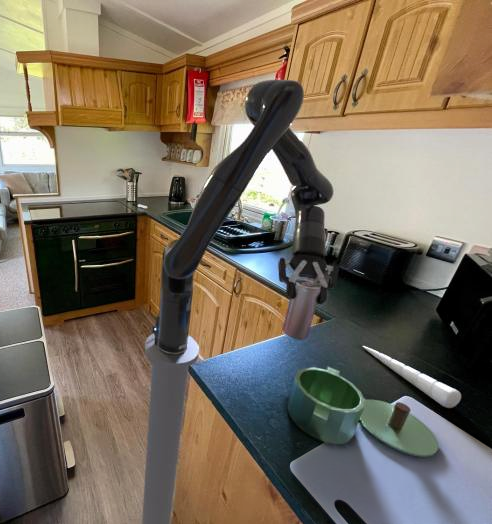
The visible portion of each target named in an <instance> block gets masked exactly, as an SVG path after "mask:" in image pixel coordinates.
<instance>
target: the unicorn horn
mask: <svg viewBox="0 0 492 524" xmlns="http://www.w3.org/2000/svg"><path fill="white" fill-rule="evenodd" d="M362 347H363V349H364V350H366V351H367V352H368V353H369V354H371V356H374V358H376V359H377V360H378V361H380V362H381V363H382V364H384V365H386V367H388V368H390V369H391V370H392V371H393V372H395V374H397V375H399V376H400V377H402V378H403V379H404V380H406V381H407V382H409V383H410V384H411V385H413V386H414V387H415V388H417V389H419V390H420V391H421V392H423V393H424V394H425V395H427V396H428V397H429V398H431V399H432V400H434V401H435V402H436V403H438V404H439V405H440V406H442V407H444V408H445V409H452V408H454V407H456V406H457V405H458V404H459V403H460V402H461V399H462V394H461V392H460V391H459V390H457V389H456V388H453V387H451V386H449V385H447V384H445V383H443V382H441V381H438V380H437V379H434V378H433V377H430V376H429V375H427V374H425V373H421V371H419V370H416V369H414V368H412V367H410V366H409V365H406V364H404V363H403V362H400V361H398V360H396V359H394V358H392V357H391V356H388V355H386V354H384V353H381V352H379V351H377V350H375V349H372V348H371V347H368V346H365V345H362Z"/></svg>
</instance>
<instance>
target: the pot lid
mask: <svg viewBox="0 0 492 524" xmlns="http://www.w3.org/2000/svg"><path fill="white" fill-rule="evenodd" d="M410 412H411V408H410V407H409V405H407V404H405V403H403V402H399V401H398V402H395V404H392V403H389V402H386V401H382V400H378V399H365V406H364V410H363V412H362V415H361V417H360V420H359V422H360V423H361V424H362V426H363V427H364V428H365V429H366V430H367V431H368V432H369V433H370V434H372V435H373V436H374V437H375V438H376V439H377V440H379V441H381V442H382V443H383V444H385V445H387V446H389V447H391V448H393V449H395V450H397V451H399V452H401V453H403V454H406V455H409V456H414V457H421V458H425V457H426V458H428V457H432V456H434V455H435V454H436V453H437V452H438V450H439V442H438V439H437V437H436V435H435V434H434V433H433V431H432V430H431V429H430V428H429V427H428V426H427V425H426V424H425V423H424V422H422V421H421V419H419V418H417V417H416V416H415V415H413V414H412V413H410Z"/></svg>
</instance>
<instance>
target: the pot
mask: <svg viewBox="0 0 492 524" xmlns="http://www.w3.org/2000/svg"><path fill="white" fill-rule="evenodd" d="M340 373H341V371H340V370H337V369H335V368H332V367H330V366H327V368H326V369H323V368H319V367H304V368H302V369H300V370H298V371H297V372H296V374H295V377H294V380H293V384H292V386H291V391H290V394H289V398H288V401H287V412H288V415H289V416H290V418H291V420H292V422H294V423H295V425H296V426H297V427H298V428H299V429H301V430H302V431H303V432H304V433H306V434H307V435H309V436H311V437H312V438H314V439H316V440H318V441H321V442H324V443H326V444H330V445H331V444H332V445H343V444H346V443H348V442H350V441H351V440H352V439H353V437H354V435H355V433H356V429H357V428H358V425H359V422H360V417H361V415H362V412H363V410H364V406H365V400H366V398H365V397H364V395H363V393H362V392H361V390H360V389H359V388H358V387H357V386H356V385H355V384H354V383H352V381H350V380H348V379H346V378H345V377H343V376H342V375H340Z"/></svg>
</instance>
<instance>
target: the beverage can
mask: <svg viewBox="0 0 492 524" xmlns="http://www.w3.org/2000/svg"><path fill="white" fill-rule="evenodd" d="M293 283H294V295H293V298H292V299H289V302H288V306H287V311H286V313H285V319H284V322H283V325H282V332H283V335H285V337H287V338H289V339H290V340H294V341H305V340H307V338H308V336H309V333H310V330H311V326H312V322H313V319H314V315H315V312H316V310H317V306H318V299H319V295H320V292H321V289H320V288H321V285H320V284H318V283H317V282H314V280H312V279H307V278H298V279H297V278H296V279H295V280H294V282H293Z"/></svg>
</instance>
